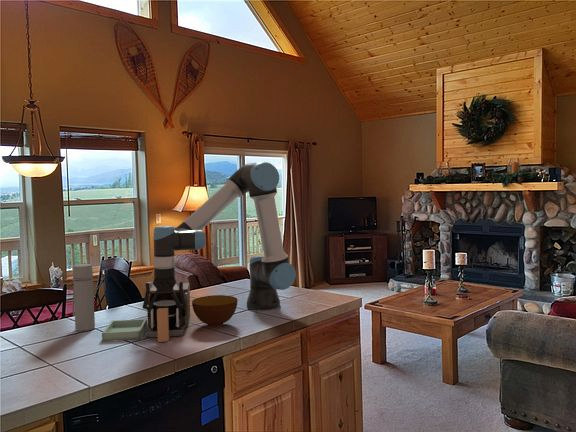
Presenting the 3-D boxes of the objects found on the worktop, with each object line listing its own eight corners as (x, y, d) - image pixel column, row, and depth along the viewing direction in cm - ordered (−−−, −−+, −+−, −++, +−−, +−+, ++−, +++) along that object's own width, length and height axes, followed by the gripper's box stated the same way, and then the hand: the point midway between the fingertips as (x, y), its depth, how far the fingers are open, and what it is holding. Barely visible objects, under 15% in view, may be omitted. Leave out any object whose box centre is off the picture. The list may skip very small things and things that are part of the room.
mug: (161, 334, 180) (161, 307, 179) (149, 328, 186) (148, 302, 185) (188, 327, 188) (188, 301, 187) (176, 322, 194) (176, 297, 194)
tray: (147, 326, 190) (146, 318, 190) (140, 339, 174) (140, 331, 174) (112, 328, 188) (111, 320, 188) (102, 341, 172) (101, 333, 172)
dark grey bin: (185, 323, 192) (184, 296, 191) (181, 340, 171) (180, 309, 170) (152, 325, 190) (151, 297, 190) (144, 342, 169) (143, 311, 169)
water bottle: (100, 327, 190) (97, 264, 188) (85, 333, 182) (82, 267, 181) (81, 325, 193) (78, 263, 191) (66, 331, 185) (63, 266, 184)
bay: (190, 315, 205) (189, 283, 204) (187, 327, 188) (186, 291, 187) (153, 317, 203) (152, 284, 202) (147, 329, 186) (146, 293, 185)
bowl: (220, 316, 203) (219, 293, 202) (247, 325, 190) (246, 299, 189) (183, 325, 190) (183, 300, 190) (210, 335, 178) (209, 308, 177)
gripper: (193, 265, 187) (194, 322, 189) (136, 266, 184) (137, 324, 186) (192, 268, 180) (193, 328, 181) (133, 269, 177) (134, 330, 178)
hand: (165, 326), depth 183 cm, fingers closed on mug, 9 cm apart
